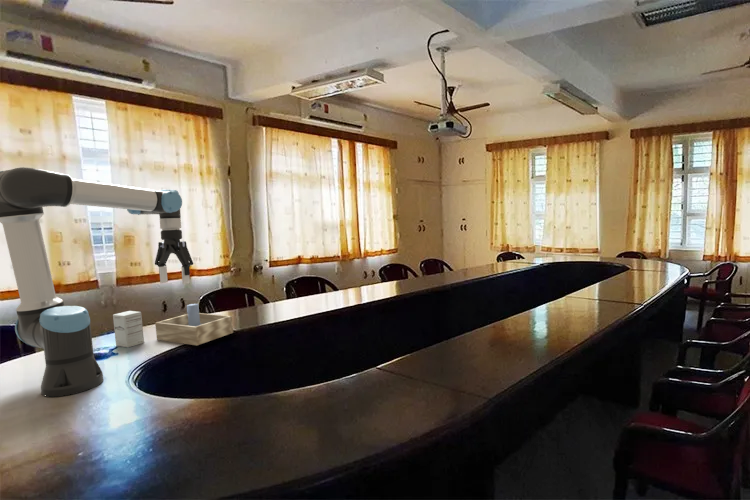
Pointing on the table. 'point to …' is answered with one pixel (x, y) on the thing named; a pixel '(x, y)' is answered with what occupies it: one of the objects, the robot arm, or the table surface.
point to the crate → (194, 329)
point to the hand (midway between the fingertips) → (174, 283)
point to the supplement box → (128, 328)
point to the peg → (193, 315)
